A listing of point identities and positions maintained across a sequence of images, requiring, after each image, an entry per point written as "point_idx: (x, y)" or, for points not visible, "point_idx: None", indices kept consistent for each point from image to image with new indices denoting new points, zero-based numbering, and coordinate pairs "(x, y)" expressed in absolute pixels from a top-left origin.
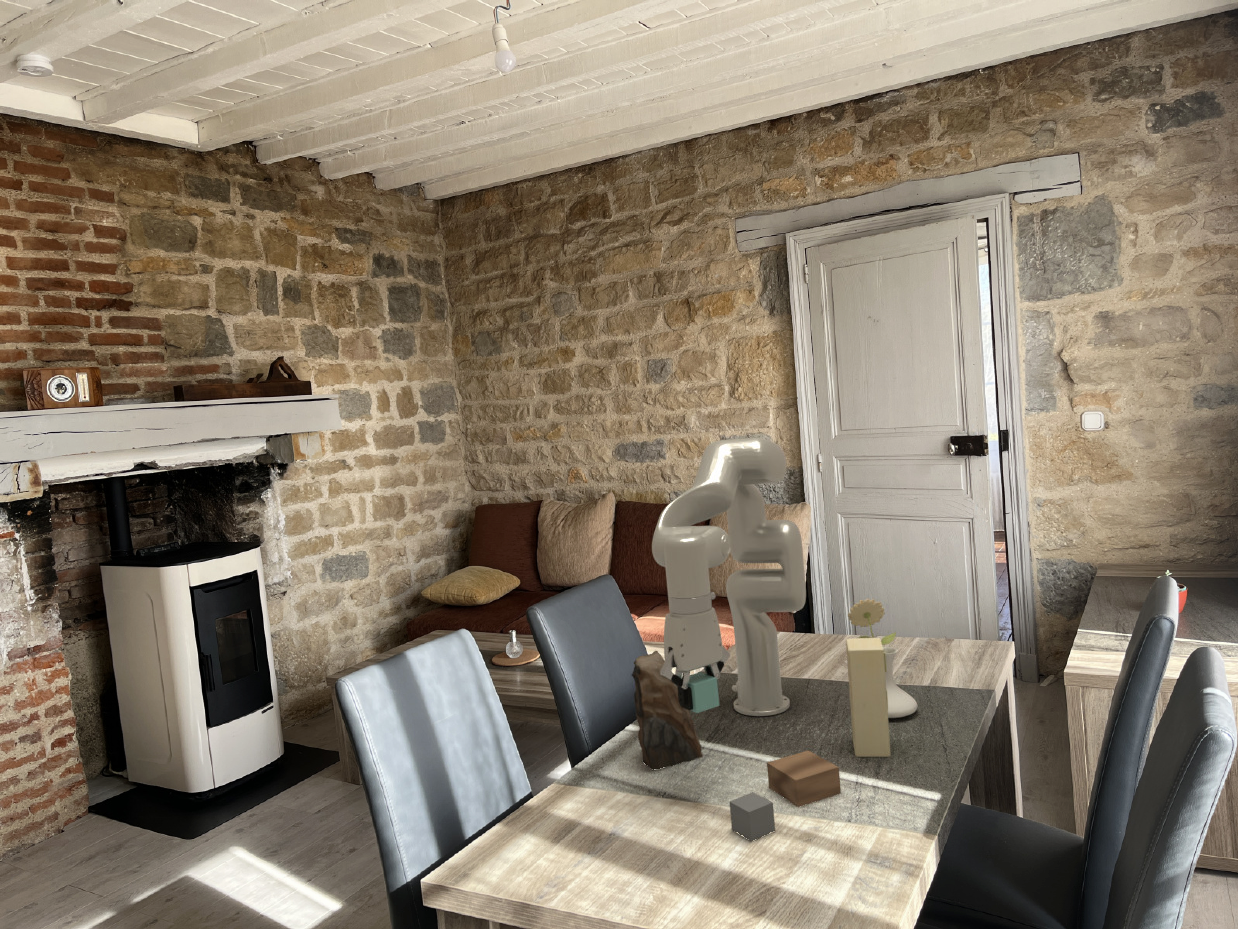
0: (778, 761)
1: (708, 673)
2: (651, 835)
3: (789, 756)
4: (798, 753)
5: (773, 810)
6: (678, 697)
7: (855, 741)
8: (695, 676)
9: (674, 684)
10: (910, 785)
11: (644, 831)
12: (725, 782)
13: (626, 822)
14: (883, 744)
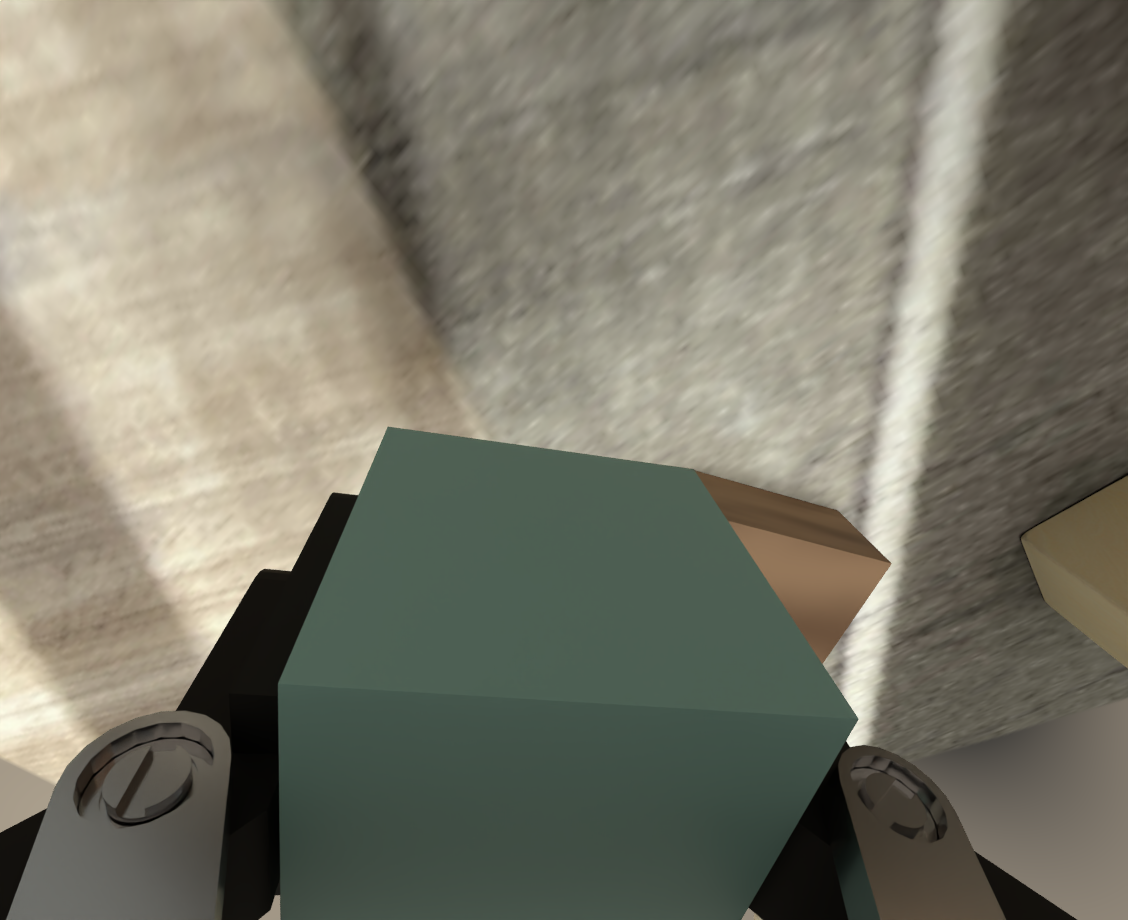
0: (753, 544)
1: (816, 868)
2: (121, 390)
3: (812, 548)
4: (852, 554)
5: None
6: (233, 616)
7: (1065, 571)
8: (612, 808)
9: (94, 746)
10: (879, 714)
11: (112, 345)
12: (645, 310)
13: (77, 219)
14: (1075, 619)
